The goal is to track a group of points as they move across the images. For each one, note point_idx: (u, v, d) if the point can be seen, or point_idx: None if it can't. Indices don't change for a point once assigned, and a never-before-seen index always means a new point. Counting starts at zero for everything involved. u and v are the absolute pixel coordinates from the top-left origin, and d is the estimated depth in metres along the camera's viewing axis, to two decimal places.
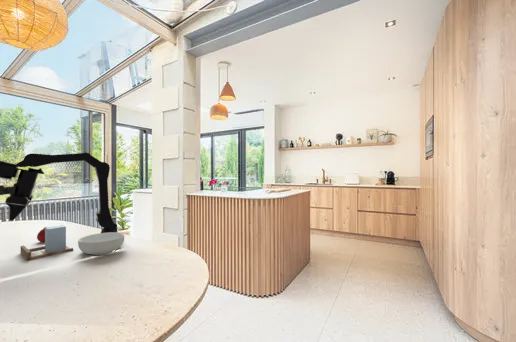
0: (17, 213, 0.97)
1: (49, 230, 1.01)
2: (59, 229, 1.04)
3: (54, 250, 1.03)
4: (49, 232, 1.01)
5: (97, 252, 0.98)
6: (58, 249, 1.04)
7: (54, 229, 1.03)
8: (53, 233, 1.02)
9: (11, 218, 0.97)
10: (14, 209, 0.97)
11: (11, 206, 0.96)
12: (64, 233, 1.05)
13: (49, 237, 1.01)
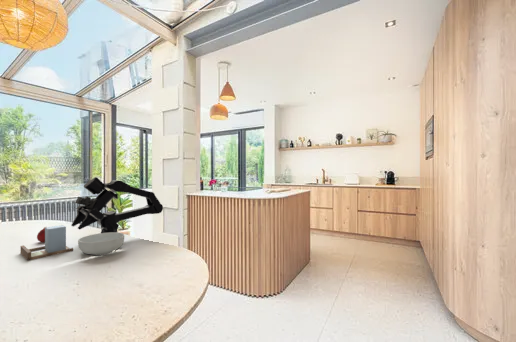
0: (87, 224, 1.10)
1: (49, 230, 1.01)
2: (59, 229, 1.04)
3: (54, 250, 1.03)
4: (49, 232, 1.01)
5: (97, 252, 0.98)
6: (58, 249, 1.04)
7: (54, 229, 1.03)
8: (53, 233, 1.02)
9: (80, 227, 1.08)
10: (87, 220, 1.10)
11: (88, 217, 1.09)
12: (64, 233, 1.05)
13: (49, 237, 1.01)
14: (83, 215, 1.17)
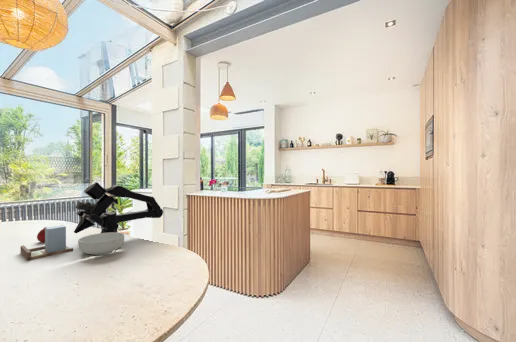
0: (83, 228, 1.12)
1: (49, 230, 1.01)
2: (59, 229, 1.04)
3: (54, 250, 1.03)
4: (49, 232, 1.01)
5: (97, 252, 0.98)
6: (58, 249, 1.04)
7: (54, 229, 1.03)
8: (53, 233, 1.02)
9: (76, 231, 1.11)
10: (84, 224, 1.12)
11: (84, 221, 1.12)
12: (64, 233, 1.05)
13: (49, 237, 1.01)
14: None
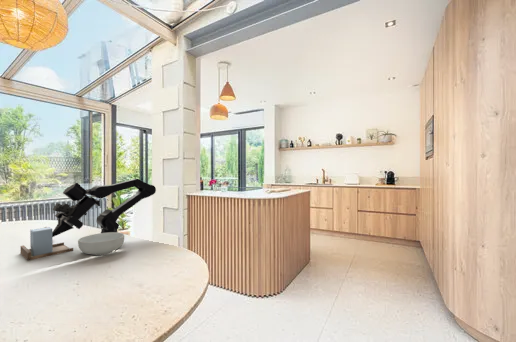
0: (61, 232, 1.05)
1: (34, 232, 0.98)
2: (45, 231, 1.00)
3: (40, 253, 0.99)
4: (34, 234, 0.98)
5: (97, 252, 0.98)
6: (44, 252, 1.00)
7: (40, 231, 0.99)
8: (38, 235, 0.99)
9: (53, 234, 1.04)
10: (61, 227, 1.06)
11: (62, 224, 1.05)
12: (50, 235, 1.02)
13: (34, 240, 0.98)
14: None
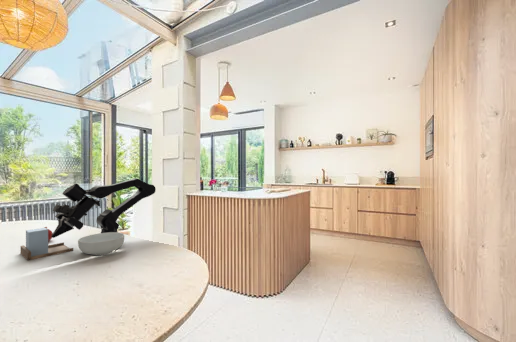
0: (62, 232, 1.06)
1: (30, 233, 0.96)
2: (41, 232, 0.99)
3: (35, 254, 0.98)
4: (30, 235, 0.96)
5: (97, 252, 0.98)
6: (40, 253, 0.99)
7: (35, 232, 0.98)
8: (34, 236, 0.98)
9: (54, 235, 1.04)
10: (62, 228, 1.06)
11: (62, 225, 1.05)
12: (46, 236, 1.01)
13: (30, 240, 0.96)
14: None
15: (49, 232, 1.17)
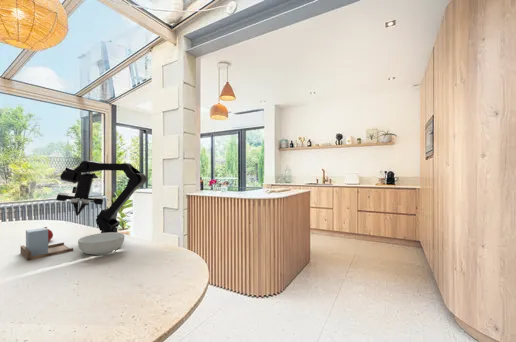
0: (75, 209, 1.20)
1: (30, 233, 0.96)
2: (41, 232, 0.99)
3: (35, 254, 0.98)
4: (30, 235, 0.96)
5: (97, 252, 0.98)
6: (40, 253, 0.99)
7: (35, 232, 0.98)
8: (34, 236, 0.98)
9: None
10: None
11: None
12: (46, 236, 1.01)
13: (30, 240, 0.96)
14: (81, 203, 1.21)
15: (49, 232, 1.17)
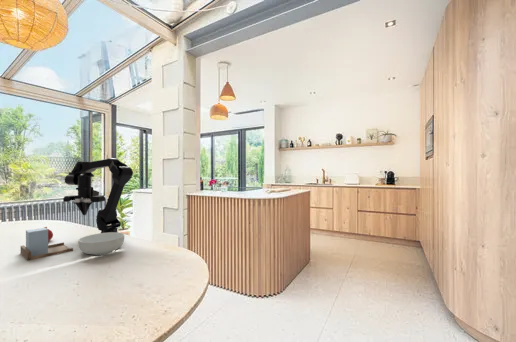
0: None
1: (30, 233, 0.96)
2: (41, 232, 0.99)
3: (35, 254, 0.98)
4: (30, 235, 0.96)
5: (97, 252, 0.98)
6: (40, 253, 0.99)
7: (35, 232, 0.98)
8: (34, 236, 0.98)
9: None
10: None
11: None
12: (46, 236, 1.01)
13: (30, 240, 0.96)
14: None
15: (49, 232, 1.17)
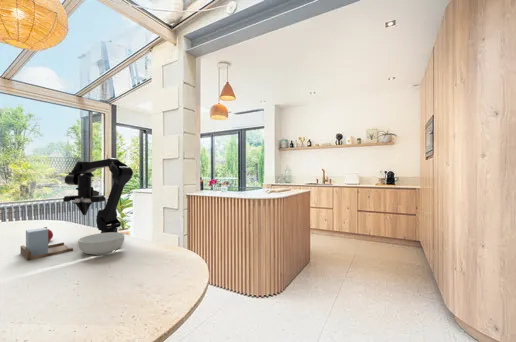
0: None
1: (30, 233, 0.96)
2: (41, 232, 0.99)
3: (35, 254, 0.98)
4: (30, 235, 0.96)
5: (97, 252, 0.98)
6: (40, 253, 0.99)
7: (35, 232, 0.98)
8: (34, 236, 0.98)
9: None
10: None
11: None
12: (46, 236, 1.01)
13: (30, 240, 0.96)
14: None
15: (49, 232, 1.17)
